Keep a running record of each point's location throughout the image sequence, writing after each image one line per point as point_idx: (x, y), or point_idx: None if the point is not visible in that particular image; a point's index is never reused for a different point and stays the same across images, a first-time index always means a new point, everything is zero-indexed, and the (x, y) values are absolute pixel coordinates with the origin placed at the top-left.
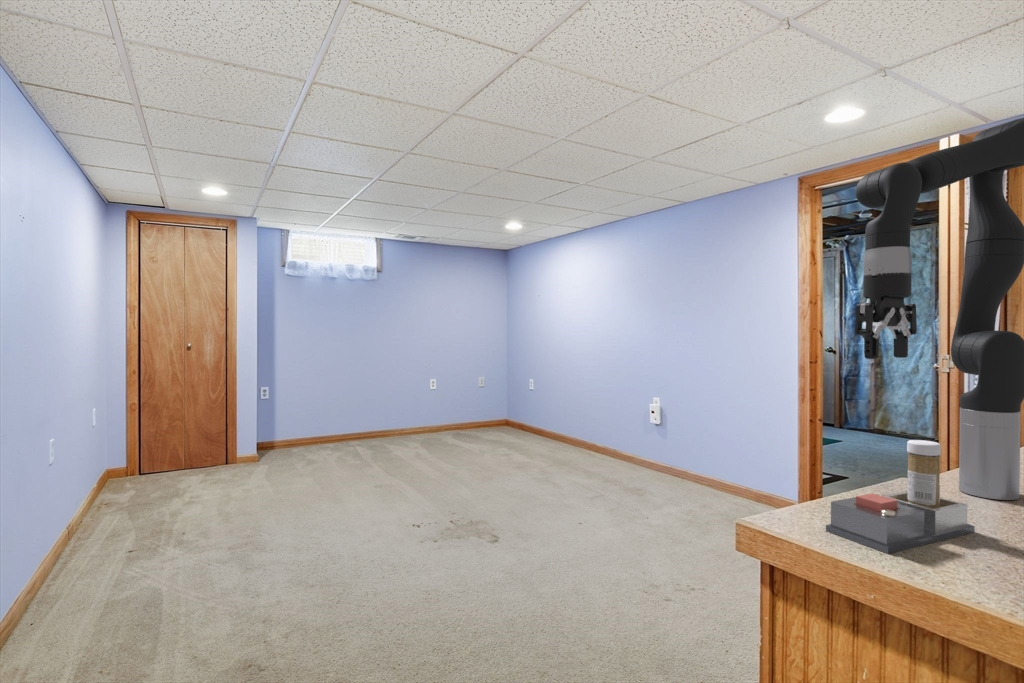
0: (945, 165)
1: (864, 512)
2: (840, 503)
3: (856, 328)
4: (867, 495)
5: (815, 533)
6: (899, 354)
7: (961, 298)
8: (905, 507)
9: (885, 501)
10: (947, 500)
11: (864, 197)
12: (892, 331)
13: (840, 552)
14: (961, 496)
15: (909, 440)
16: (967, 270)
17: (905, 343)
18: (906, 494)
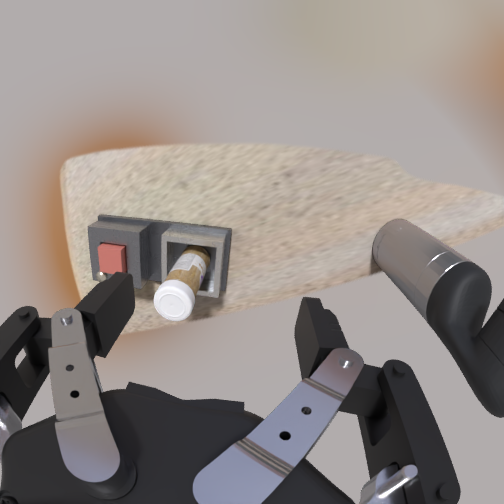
0: None
1: (91, 260)
2: (91, 234)
3: (8, 324)
4: (110, 251)
5: (89, 213)
6: (299, 320)
7: None
8: (135, 274)
9: (109, 271)
10: (214, 282)
11: None
12: (311, 377)
13: (77, 248)
14: (363, 232)
15: (167, 289)
16: None
17: (301, 371)
18: (202, 245)
